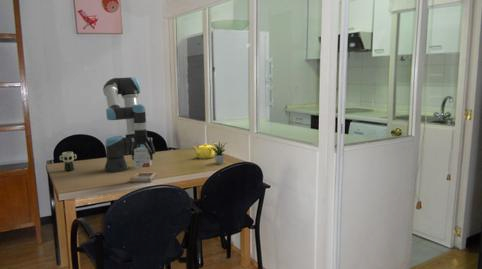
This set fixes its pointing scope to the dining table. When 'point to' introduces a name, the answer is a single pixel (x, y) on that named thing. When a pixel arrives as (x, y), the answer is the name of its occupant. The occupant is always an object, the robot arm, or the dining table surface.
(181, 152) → the dining table surface
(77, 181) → the dining table surface
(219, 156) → the house plant
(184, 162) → the dining table surface
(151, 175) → the holder
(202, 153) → the teapot
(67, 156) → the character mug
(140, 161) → the ink box
